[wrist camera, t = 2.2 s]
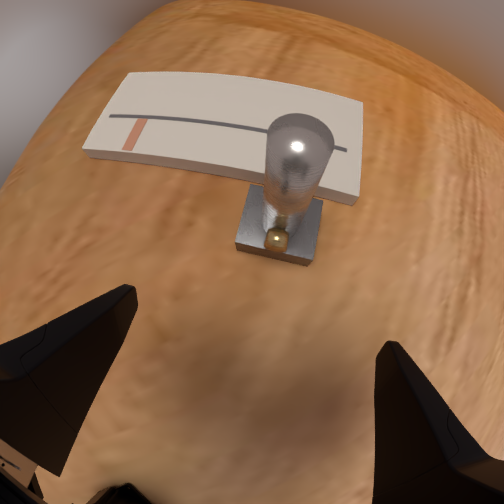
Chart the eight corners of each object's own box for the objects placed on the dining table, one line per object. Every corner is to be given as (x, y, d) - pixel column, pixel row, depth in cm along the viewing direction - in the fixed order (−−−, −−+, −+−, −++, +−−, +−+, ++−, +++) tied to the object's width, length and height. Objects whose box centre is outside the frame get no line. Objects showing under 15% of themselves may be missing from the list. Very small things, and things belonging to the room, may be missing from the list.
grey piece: (306, 268, 23) (362, 208, 11) (236, 252, 24) (217, 174, 11) (321, 185, 25) (366, 83, 12) (257, 170, 25) (260, 59, 13)
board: (357, 113, 27) (363, 101, 25) (351, 205, 25) (359, 196, 23) (133, 83, 29) (128, 72, 27) (89, 157, 26) (81, 148, 24)
